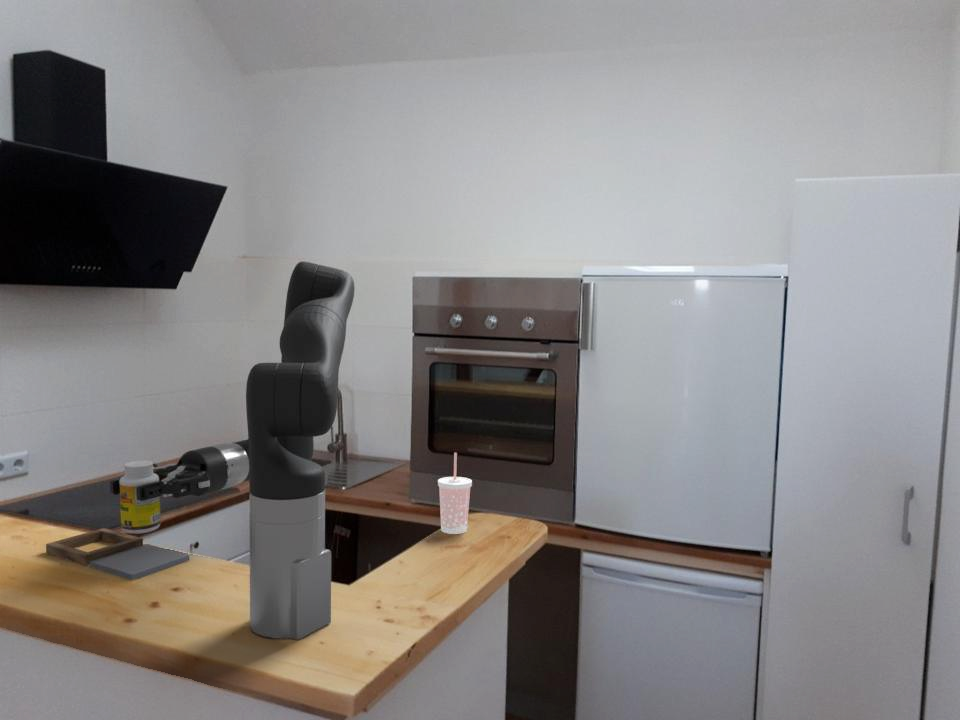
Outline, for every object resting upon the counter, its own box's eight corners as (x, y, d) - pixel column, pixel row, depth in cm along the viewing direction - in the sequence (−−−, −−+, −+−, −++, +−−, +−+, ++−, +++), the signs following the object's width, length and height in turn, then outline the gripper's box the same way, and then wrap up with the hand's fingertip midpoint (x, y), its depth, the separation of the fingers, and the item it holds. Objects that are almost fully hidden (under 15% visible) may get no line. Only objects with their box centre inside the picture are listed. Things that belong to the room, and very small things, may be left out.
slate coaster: (189, 560, 122) (189, 555, 122) (132, 580, 113) (132, 574, 113) (147, 548, 127) (147, 543, 127) (89, 566, 118) (89, 561, 118)
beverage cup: (452, 522, 145) (453, 447, 143) (478, 529, 141) (479, 452, 140) (429, 530, 140) (431, 452, 139) (456, 537, 136) (457, 457, 135)
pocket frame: (143, 547, 127) (142, 538, 127) (85, 565, 119) (85, 555, 119) (104, 536, 132) (103, 528, 132) (46, 553, 124) (46, 544, 124)
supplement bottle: (118, 526, 121) (116, 461, 120) (157, 521, 124) (155, 457, 123) (123, 537, 116) (121, 469, 115) (163, 531, 119) (161, 465, 118)
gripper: (184, 441, 135) (93, 460, 120) (244, 451, 128) (155, 473, 113) (185, 484, 136) (95, 507, 121) (245, 496, 129) (157, 523, 114)
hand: (125, 491), depth 117 cm, fingers closed on supplement bottle, 5 cm apart
